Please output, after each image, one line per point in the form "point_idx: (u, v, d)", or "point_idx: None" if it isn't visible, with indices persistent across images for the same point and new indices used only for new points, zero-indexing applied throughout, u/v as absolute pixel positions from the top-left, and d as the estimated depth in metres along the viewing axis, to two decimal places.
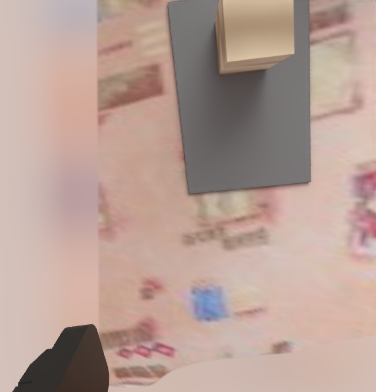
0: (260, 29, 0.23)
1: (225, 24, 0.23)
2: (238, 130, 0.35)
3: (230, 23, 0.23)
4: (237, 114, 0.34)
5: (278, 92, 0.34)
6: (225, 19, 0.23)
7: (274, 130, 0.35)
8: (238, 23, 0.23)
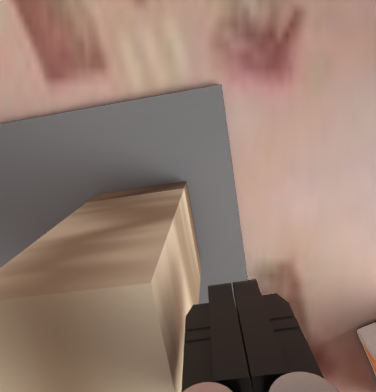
0: (54, 385, 0.08)
1: (50, 296, 0.07)
2: (3, 239, 0.18)
3: (54, 310, 0.07)
4: (32, 235, 0.18)
5: None
6: (64, 295, 0.07)
7: None
8: (59, 332, 0.08)
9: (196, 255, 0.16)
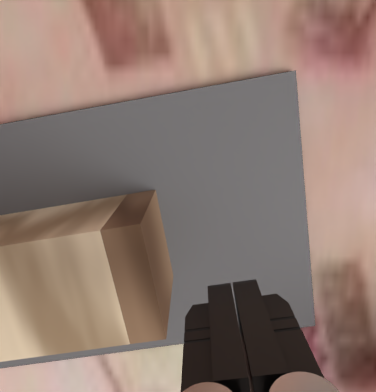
0: None
1: None
2: None
3: None
4: None
5: None
6: None
7: None
8: None
9: (125, 315, 0.12)
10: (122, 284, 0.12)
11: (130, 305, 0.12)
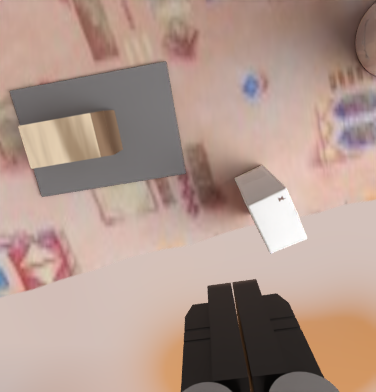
0: None
1: None
2: None
3: None
4: None
5: (107, 161, 0.42)
6: None
7: (78, 161, 0.42)
8: None
9: (98, 145, 0.36)
10: (97, 133, 0.36)
11: (100, 141, 0.36)
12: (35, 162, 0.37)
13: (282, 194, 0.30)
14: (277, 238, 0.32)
